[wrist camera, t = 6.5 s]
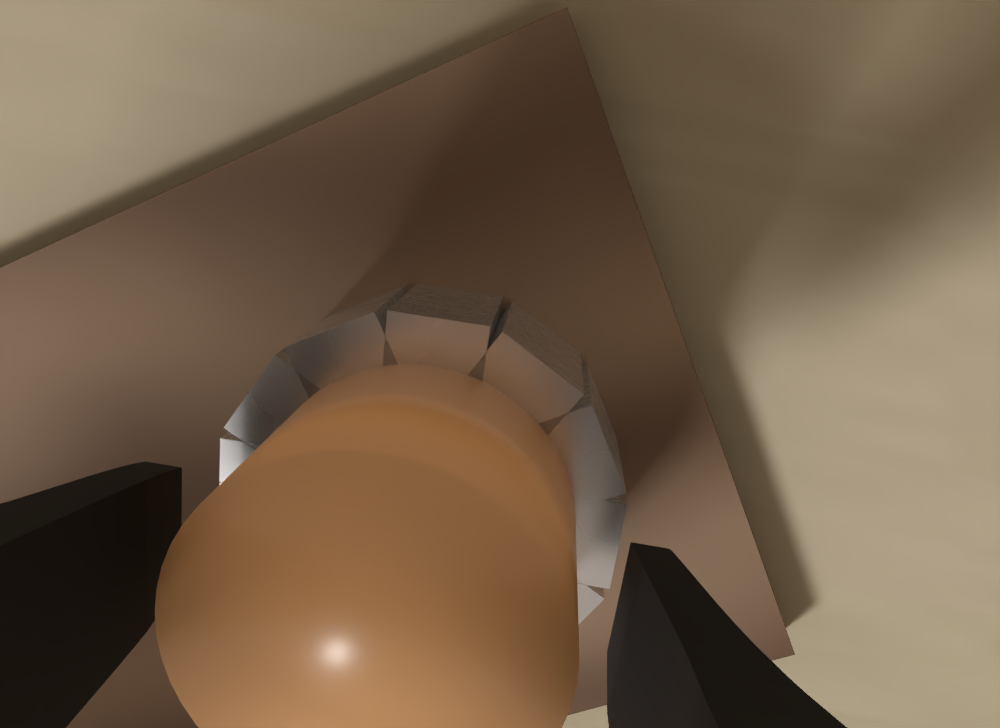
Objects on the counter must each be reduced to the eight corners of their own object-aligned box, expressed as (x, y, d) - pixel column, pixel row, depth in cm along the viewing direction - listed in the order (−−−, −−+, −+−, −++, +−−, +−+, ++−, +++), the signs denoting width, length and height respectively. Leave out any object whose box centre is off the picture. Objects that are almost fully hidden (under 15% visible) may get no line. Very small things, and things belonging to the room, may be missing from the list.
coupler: (596, 353, 14) (617, 492, 8) (550, 596, 16) (542, 850, 10) (317, 309, 14) (154, 415, 9) (300, 553, 16) (155, 777, 10)
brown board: (784, 630, 17) (794, 654, 16) (74, 825, 20) (55, 852, 20) (566, 15, 13) (566, 7, 13) (-233, 380, 17) (-270, 391, 16)
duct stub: (660, 550, 15) (678, 623, 13) (360, 641, 17) (326, 723, 14) (536, 232, 14) (530, 249, 11) (213, 361, 15) (147, 401, 13)
